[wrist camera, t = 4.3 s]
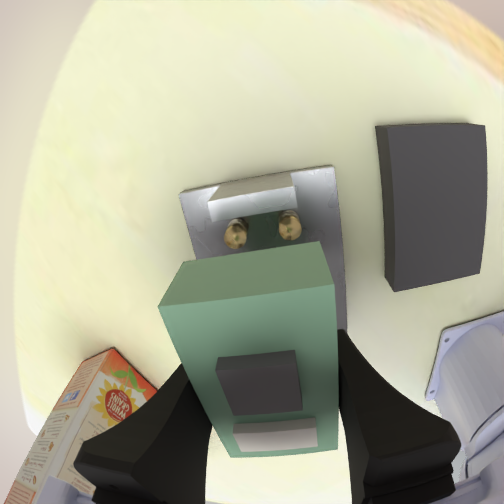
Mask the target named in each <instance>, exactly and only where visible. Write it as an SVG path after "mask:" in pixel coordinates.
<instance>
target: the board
mask: <svg viewBox="0 0 504 504" xmlns="http://www.w3.org/2000/svg"><path fill="white" fill-rule="evenodd" d="M158 309H159V311H160V314H161V316H162V319H163V321H164V323H165V326H166V328H167V331H168V333H169V335H170V338H171V340H172V342H173V345H174V347H175V349H176V351H177V354H178V356H179V358H180V360H181V362H182V365H183V367H184V369H185V371H186V373H187V375H188V377H189V379H190V382H191V384H192V386H193V388H194V390H195V392H196V394H197V396H198V398H199V400H200V402H201V404H202V406H203V408H204V410H205V412H206V414H207V415H208V417H209V419H210V421H211V423H212V425H213V427H214V429H215V431H216V432H217V434H218V436H219V438H220V440H221V441H222V443H223V445H224V447H225V449H226V450H227V452H228V454H229V455H230V457H269V456H284V455H296V454H306V453H315V452H322V451H329V450H336V449H338V418H339V381H338V342H337V320H336V303H335V288H334V282H333V279H332V276H331V273H330V270H329V267H328V264H327V261H326V258H325V255H324V253H323V250H322V247H321V244H320V241H317V242H310V243H303V244H297V245H290V246H284V247H277V248H271V249H264V250H258V251H251V252H245V253H238V254H232V255H225V256H219V257H212V258H205V259H199V260H192V261H186V262H183V264H182V265H181V267H180V269H179V271H178V272H177V274H176V276H175V277H174V279H173V281H172V283H171V284H170V286H169V288H168V290H167V291H166V293H165V295H164V297H163V298H162V300H161V302H160V304H159V305H158Z"/></svg>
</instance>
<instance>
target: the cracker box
mask: <svg viewBox="0 0 504 504" xmlns="http://www.w3.org/2000/svg"><path fill="white" fill-rule="evenodd" d="M156 392H157V390H156V389H155V388H153V387H152V386H151V385H150V384H149V383H148V382H147V381H146V380H145V379H144V378H143V377H142V376H141V375H139V374H138V373H137V372H136V371H135V370H134V369H133V368H132V367H131V366H130V365H129V364H128V363H127V362H126V361H125V360H124V359H123V358H122V357H121V356H120V355H119V354H118V353H117V351H115V350H114V349H110V350H108V351H105V352H103V353H101V354H99V355H97V356H94V357H92V358H90V359H88V360H86V361H83V362H82V363H81V365H80V366H79V368H78V369H77V371H76V372H75V374H74V375H73V377H72V379H71V380H70V382H69V383H68V385H67V387H66V388H65V390H64V391H63V393H62V395H61V396H60V398H59V400H58V401H57V403H56V405H55V406H54V408H53V410H52V411H51V413H50V415H49V417H48V418H47V420H46V422H45V424H44V426H43V427H42V429H41V431H40V433H39V435H38V436H37V438H36V440H35V442H34V444H33V446H32V448H31V450H30V451H29V454H28V455H27V457H26V459H25V461H24V463H23V465H22V467H21V469H20V470H19V472H18V474H17V477H16V479H15V481H14V483H13V485H12V487H11V489H10V491H9V494H8V496H7V498H6V501H5V503H4V504H36V503H37V501H38V499H39V496H40V494H41V492H42V489H43V487H44V485H45V483H46V481H47V478H48V476H49V475H51V476H54V477H56V478H59V479H61V480H64V481H66V482H68V483H70V484H72V485H73V486H74V487H76V488H77V489H78V490H79V491H81V492H84V493H87V494H90V495H93V494H94V492H95V489H96V487H95V486H94V485H93V484H92V483H90V482H89V481H88V480H87V479H85V478H84V477H83V476H82V475H80V474H79V473H78V472H77V471H76V469H75V468H74V466H73V463H74V461H75V458H76V456H77V454H78V452H79V450H80V448H81V445H82V443H83V441H86V440H88V439H90V438H92V437H94V436H97V435H99V434H101V433H103V432H104V431H106V430H108V429H110V428H111V427H113V426H115V425H116V424H118V423H120V422H121V421H123V420H124V419H125V418H127V417H128V416H129V415H131V414H132V413H133V412H135V411H136V410H137V409H139V408H140V407H141V406H142V405H143V404H144V403H145V402H147V401H148V400H149V399H150V398H151V397H152V396H153V395H154V394H155V393H156Z"/></svg>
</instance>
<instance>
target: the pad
mask: <svg viewBox="0 0 504 504" xmlns="http://www.w3.org/2000/svg"><path fill="white" fill-rule="evenodd" d="M375 129H376V136H377V144H378V152H379V161H380V171H381V183H382V196H383V212H384V237H385V278H386V280H387V281H388V283H389V285H390V286H391V288H392V290H393V291H394V292H398V291H403V290H408V289H413V288H417V287H422V286H427V285H432V284H436V283H441V282H445V281H450V280H454V279H458V278H462V277H467V276H471V275H475V274H479V273H480V268H481V261H482V253H483V245H484V235H485V224H486V209H487V146H486V131H485V126H484V125H477V124H469V123H432V124H405V125H388V126H375Z"/></svg>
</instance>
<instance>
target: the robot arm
mask: <svg viewBox="0 0 504 504" xmlns="http://www.w3.org/2000/svg"><path fill="white" fill-rule="evenodd" d="M503 335H504V311H502V312H500V313H497V314H494V315H491V316H488V317H484V318H481V319H478V320H475V321H472V322H468V323H465V324H462V325H458V326H455V327H451V328H448V329H445V330H444V331H443V332H442V334H441V339H440V344H439V348H438V352H437V356H436V360H435V364H434V368H433V372H432V375H431V379H430V382H429V386H428V389H427V392H426V396H425V399H426V400H427V401H429V400H433V399H435V401H436V404H437V406H438V409H439V411H440V413H441V416H442V418H440V417H438V416H436V415H434V414H432V413H430V412H428V411H427V410H425V409H423V408H422V407H420V406H418V405H417V404H415V403H414V402H413V401H411V400H410V399H408V398H407V397H405V396H404V395H403V394H401V393H400V392H399V391H397V390H396V389H395V388H394V387H393V386H392V385H390V384H389V383H388V382H387V381H386V380H385V379H384V378H383V377H382V376H381V375H380V374H379V373H378V372H377V371H376V370H375V369H374V368H373V367H372V366H371V365H370V364H369V362H368V361H367V360H366V359H365V358H364V356H363V355H362V354H361V353H360V352H359V350H358V349H357V348H356V346H355V345H354V343H353V342H352V341H351V339H350V338H349V336H348V334H347V333H346V331H345V330H344V329H338V330H337V342H338V381H339V410H340V414H341V418H342V422H343V426H344V430H345V436H346V443H347V451H348V460H349V470H350V481H351V494H352V504H504V336H503ZM211 430H212V423H211V421H210V419H209V417H208V415H207V414H206V412H205V410H204V408H203V406H202V404H201V402H200V400H199V398H198V396H197V394H196V392H195V390H194V388H193V386H192V384H191V382H190V379H189V377H188V375H187V373H186V371H185V369H184V367H183V365H182V363H181V364H180V365H179V367H178V368H177V369H176V370H175V372H174V373H173V374H172V375H171V376H170V378H169V379H168V380H167V381H166V382H165V383H164V384H163V385H162V387H161V388H160V389H159V390H158V391H157V392H156V393H155V394H154V395H153V396H152V397H151V398H150V399H149V400H148V401H147V402H145V403H144V404H143V405H142V406H141V407H140V408H139V409H137V410H136V411H135V412H133V413H132V414H131V415H129V416H128V417H127V418H125V419H124V420H123V421H121V422H120V423H118V424H116V425H115V426H113V427H111V428H110V429H108V430H106V431H104V432H103V433H101V434H99V435H97V436H94V437H92V438H90V439H88V440H86V441H83V443H82V445H81V448H80V450H79V452H78V454H77V456H76V458H75V461H74V463H73V466H74V468H75V469H76V471H77V472H78V473H79V474H80V475H82V476H83V477H84V478H85V479H87V480H88V481H89V482H90V483H92V484H93V485H94V486H95V487H96V489H95V492H94V494H93V495H90V494H87V493H84V492H81V491H79V490H78V489H77V488H76V487H74V486H73V485H72V484H70V483H68V482H66V481H64V480H61V479H59V478H56V477H54V476H51V475H49V476H48V478H47V481H46V483H45V485H44V487H43V489H42V492H41V494H40V496H39V499H38V501H37V503H36V504H205V483H206V466H207V454H208V445H209V439H210V434H211ZM459 450H462V451H464V452H465V454H466V456H467V458H465V459H464V461H463V462H462V465H461V468H460V476H459V482H458V483H455V484H454V481H453V478H452V475H451V474H452V473H453V467H452V464H451V462H452V461H453V460H454V458H455V457H456V455H457V454H458V452H459Z"/></svg>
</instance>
